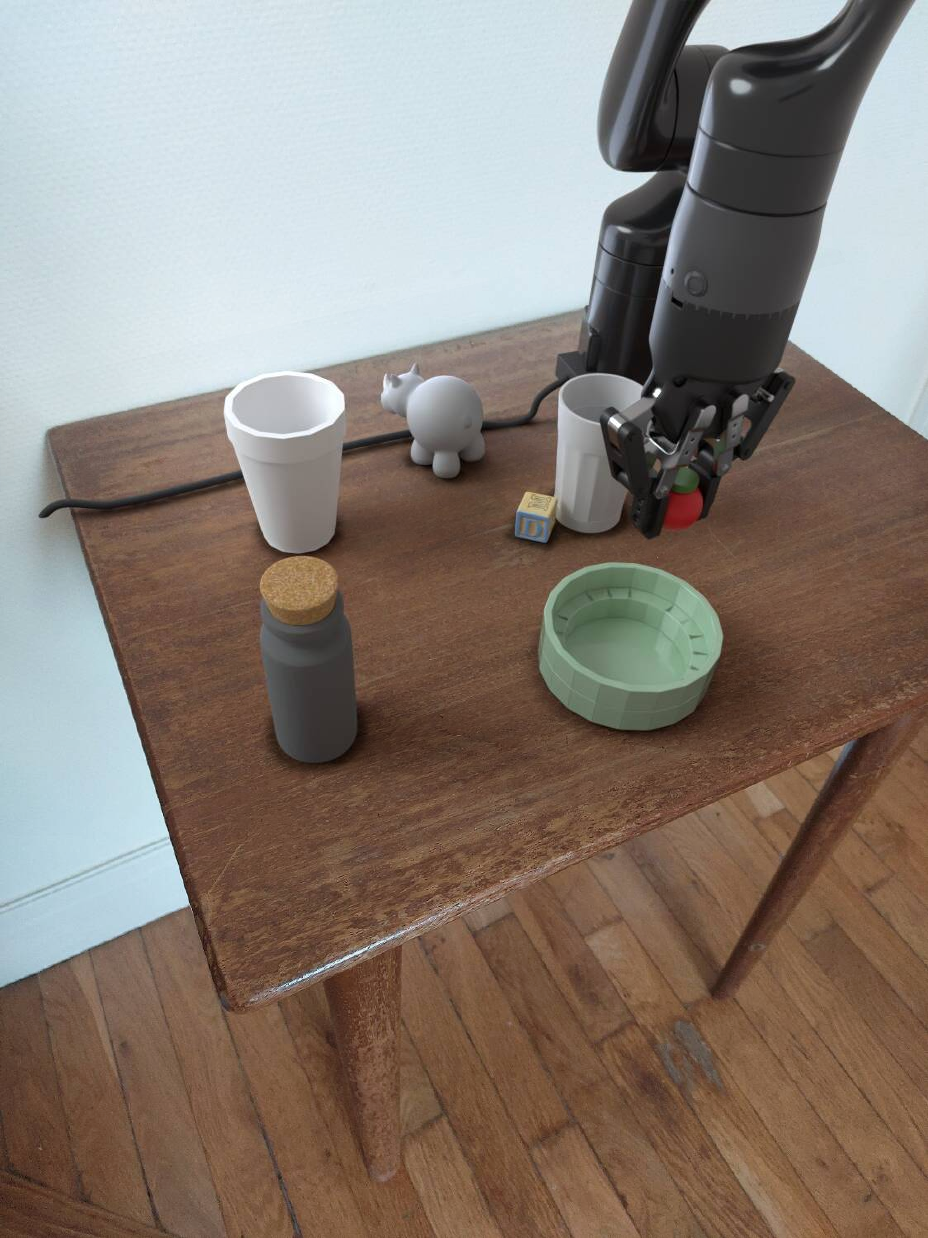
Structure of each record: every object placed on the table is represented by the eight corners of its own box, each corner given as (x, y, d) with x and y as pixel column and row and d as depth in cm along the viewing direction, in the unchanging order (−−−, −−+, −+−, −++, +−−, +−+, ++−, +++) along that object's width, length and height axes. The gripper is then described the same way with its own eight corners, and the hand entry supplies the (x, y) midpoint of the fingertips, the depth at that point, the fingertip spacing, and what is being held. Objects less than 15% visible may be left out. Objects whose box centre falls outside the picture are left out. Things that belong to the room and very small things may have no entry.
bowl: (543, 732, 66) (550, 689, 63) (533, 603, 75) (539, 559, 72) (721, 737, 67) (739, 694, 63) (690, 608, 76) (704, 564, 72)
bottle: (278, 700, 67) (253, 549, 56) (357, 697, 68) (348, 547, 57) (273, 766, 63) (246, 617, 52) (358, 762, 64) (347, 615, 53)
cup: (640, 499, 86) (666, 388, 77) (613, 549, 81) (638, 436, 72) (561, 474, 88) (578, 364, 79) (530, 522, 83) (544, 409, 74)
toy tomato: (646, 541, 60) (659, 492, 57) (638, 506, 62) (650, 458, 59) (700, 543, 60) (715, 494, 57) (690, 508, 63) (704, 460, 60)
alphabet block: (513, 536, 81) (516, 510, 79) (522, 515, 83) (525, 489, 81) (546, 544, 81) (550, 518, 78) (554, 523, 83) (559, 497, 81)
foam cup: (277, 486, 85) (261, 361, 75) (369, 510, 83) (363, 385, 73) (226, 549, 78) (200, 421, 69) (323, 577, 76) (311, 450, 67)
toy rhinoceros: (413, 408, 95) (413, 333, 88) (496, 460, 89) (502, 383, 83) (360, 434, 91) (356, 358, 85) (443, 490, 85) (445, 413, 79)
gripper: (780, 225, 54) (710, 463, 66) (586, 271, 48) (550, 521, 61) (878, 278, 49) (784, 522, 62) (676, 335, 44) (618, 591, 56)
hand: (668, 521), depth 61 cm, fingers closed on toy tomato, 3 cm apart
